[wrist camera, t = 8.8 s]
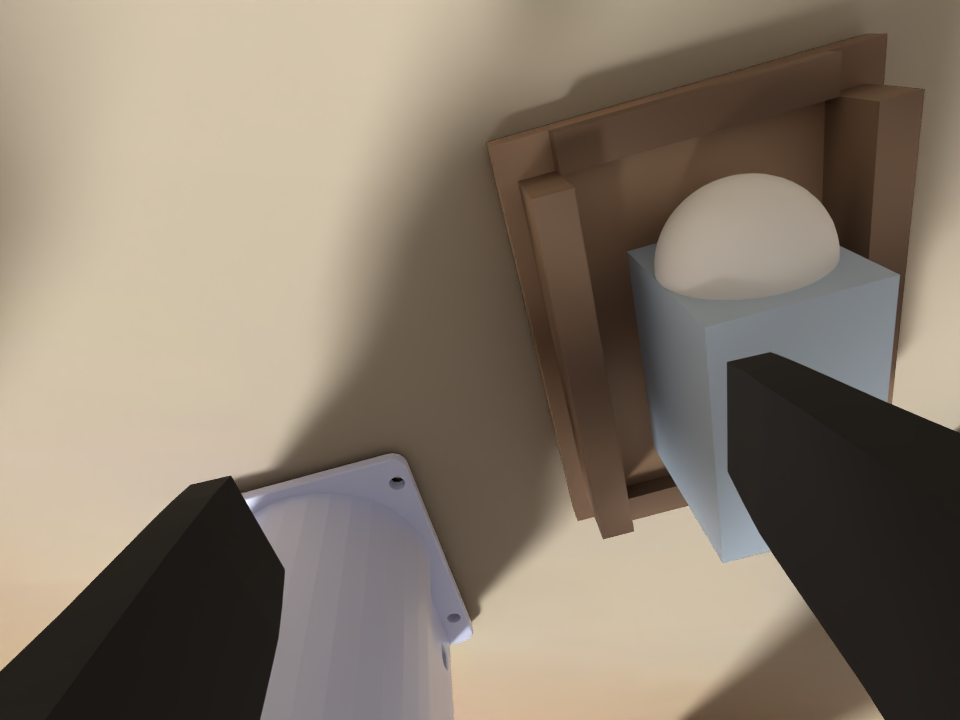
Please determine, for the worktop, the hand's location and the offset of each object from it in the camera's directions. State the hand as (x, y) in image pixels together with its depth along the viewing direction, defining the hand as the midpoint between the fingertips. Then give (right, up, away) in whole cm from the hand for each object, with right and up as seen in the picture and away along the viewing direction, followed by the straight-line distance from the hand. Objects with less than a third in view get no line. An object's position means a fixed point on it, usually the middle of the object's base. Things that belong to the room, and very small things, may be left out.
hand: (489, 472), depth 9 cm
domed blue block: (+7, +2, +9) cm, 12 cm away
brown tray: (+6, +3, +10) cm, 12 cm away
